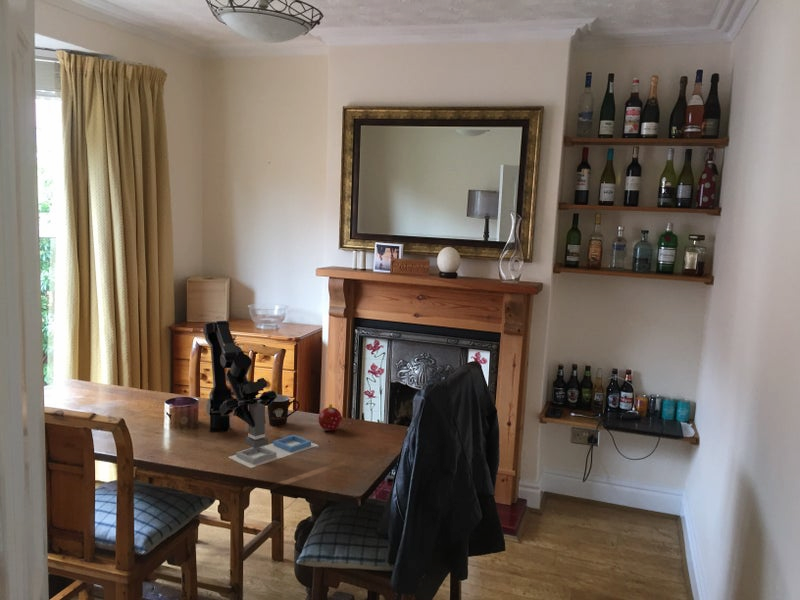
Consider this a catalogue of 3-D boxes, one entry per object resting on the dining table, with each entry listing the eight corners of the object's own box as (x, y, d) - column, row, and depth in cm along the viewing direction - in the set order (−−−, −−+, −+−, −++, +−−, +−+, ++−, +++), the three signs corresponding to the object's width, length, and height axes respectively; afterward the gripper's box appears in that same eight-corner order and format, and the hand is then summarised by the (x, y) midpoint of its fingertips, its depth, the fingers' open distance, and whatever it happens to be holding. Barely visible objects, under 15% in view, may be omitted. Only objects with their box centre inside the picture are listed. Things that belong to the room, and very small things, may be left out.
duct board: (250, 470, 192) (250, 463, 192) (227, 460, 200) (227, 452, 200) (318, 448, 214) (318, 440, 213) (295, 439, 221) (295, 432, 221)
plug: (245, 443, 200) (245, 404, 199) (258, 440, 204) (259, 401, 202) (254, 448, 197) (254, 408, 195) (267, 444, 201) (268, 405, 199)
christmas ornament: (313, 430, 230) (314, 404, 229) (327, 424, 238) (328, 399, 237) (332, 435, 226) (332, 409, 225) (346, 429, 233) (346, 403, 232)
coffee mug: (262, 426, 233) (262, 400, 232) (271, 419, 242) (271, 394, 240) (292, 429, 231) (292, 403, 230) (300, 422, 240) (300, 396, 238)
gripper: (224, 375, 193) (244, 418, 187) (274, 366, 207) (294, 406, 201) (210, 394, 200) (229, 436, 194) (259, 384, 213) (279, 424, 207)
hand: (259, 425), depth 199 cm, fingers closed on plug, 4 cm apart
